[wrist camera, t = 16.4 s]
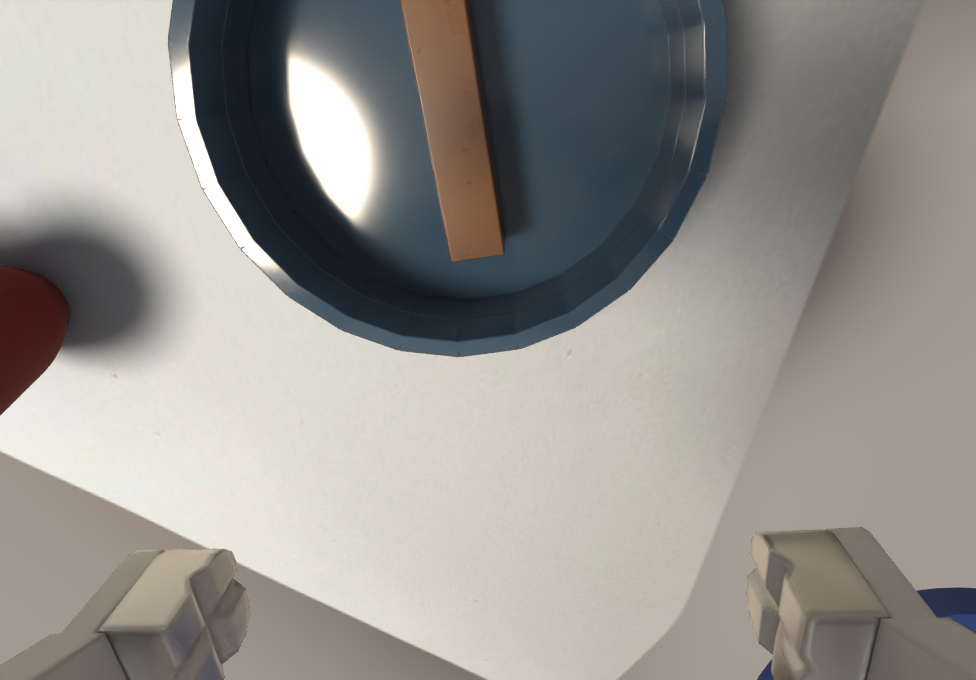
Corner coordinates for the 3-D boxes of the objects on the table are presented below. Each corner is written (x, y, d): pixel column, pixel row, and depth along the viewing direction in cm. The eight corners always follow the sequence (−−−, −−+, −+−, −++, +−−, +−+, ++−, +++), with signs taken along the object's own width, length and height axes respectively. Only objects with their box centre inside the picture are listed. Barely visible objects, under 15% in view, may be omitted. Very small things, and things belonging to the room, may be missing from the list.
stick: (399, -58, 24) (385, -74, 22) (459, -71, 24) (451, -88, 21) (456, 245, 30) (450, 263, 27) (506, 238, 29) (504, 255, 27)
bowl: (773, -55, 25) (846, -90, 19) (571, 358, 33) (582, 416, 27) (292, -276, 22) (219, -387, 17) (206, 226, 31) (139, 260, 25)
